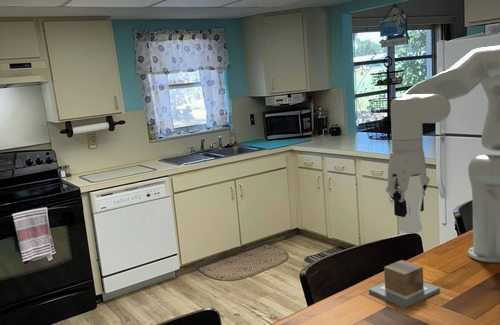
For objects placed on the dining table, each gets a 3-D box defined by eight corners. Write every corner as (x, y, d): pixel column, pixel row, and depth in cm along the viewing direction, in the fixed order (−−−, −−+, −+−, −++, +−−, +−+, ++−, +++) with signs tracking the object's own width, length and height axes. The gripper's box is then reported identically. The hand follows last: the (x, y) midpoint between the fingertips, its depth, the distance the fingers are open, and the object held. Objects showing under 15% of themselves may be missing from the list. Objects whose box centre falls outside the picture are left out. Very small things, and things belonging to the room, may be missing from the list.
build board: (403, 277, 134) (403, 274, 134) (439, 291, 124) (439, 287, 124) (369, 292, 127) (368, 288, 127) (404, 308, 117) (403, 304, 117)
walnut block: (402, 280, 130) (401, 259, 129) (423, 288, 124) (422, 266, 123) (385, 287, 127) (384, 266, 126) (405, 296, 121) (404, 274, 120)
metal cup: (426, 233, 118) (424, 176, 116) (397, 234, 120) (395, 177, 117) (421, 225, 125) (420, 170, 123) (394, 225, 127) (392, 172, 124)
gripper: (417, 140, 127) (418, 204, 129) (372, 149, 118) (375, 217, 121) (441, 142, 120) (442, 209, 123) (395, 151, 111) (398, 223, 114)
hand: (409, 212), depth 122 cm, fingers closed on metal cup, 6 cm apart
